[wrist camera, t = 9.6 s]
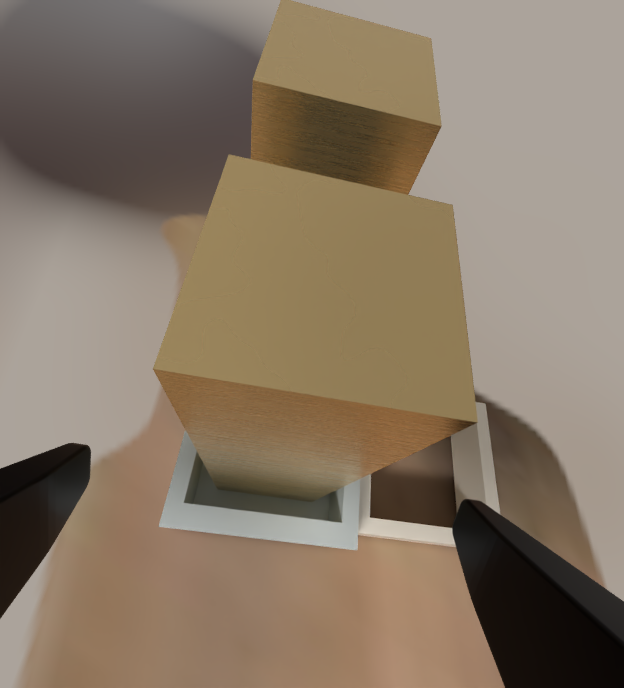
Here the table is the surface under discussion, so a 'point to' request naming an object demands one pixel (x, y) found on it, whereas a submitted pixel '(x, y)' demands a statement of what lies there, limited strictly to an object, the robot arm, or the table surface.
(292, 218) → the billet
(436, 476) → the table surface
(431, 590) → the table surface
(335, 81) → the seated billet
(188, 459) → the two-compartment pale blue organizer
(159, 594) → the table surface
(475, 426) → the box
